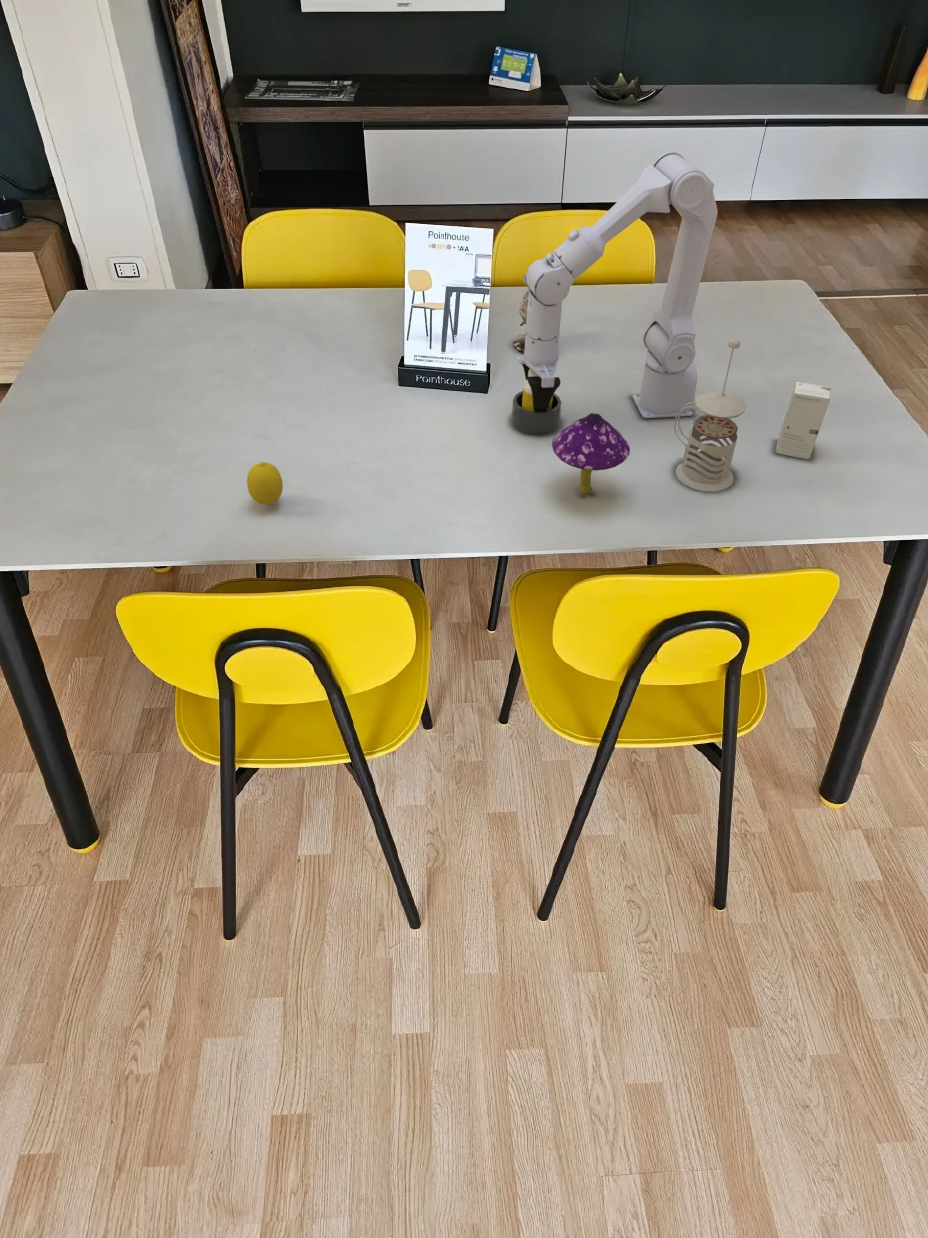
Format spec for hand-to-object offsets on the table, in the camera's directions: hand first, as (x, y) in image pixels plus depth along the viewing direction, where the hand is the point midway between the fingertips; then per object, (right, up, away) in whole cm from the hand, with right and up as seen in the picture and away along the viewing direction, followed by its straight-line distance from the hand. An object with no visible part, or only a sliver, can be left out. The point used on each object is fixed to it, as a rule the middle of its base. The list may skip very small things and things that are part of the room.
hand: (536, 403), depth 170 cm
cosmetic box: (+45, -9, -2) cm, 46 cm away
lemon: (-45, -20, -17) cm, 52 cm away
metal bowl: (0, -3, +3) cm, 4 cm away
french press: (+27, -14, -8) cm, 32 cm away
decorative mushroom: (+7, -18, -13) cm, 23 cm away
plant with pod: (+1, +17, +24) cm, 30 cm away
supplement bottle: (0, -3, +2) cm, 4 cm away
